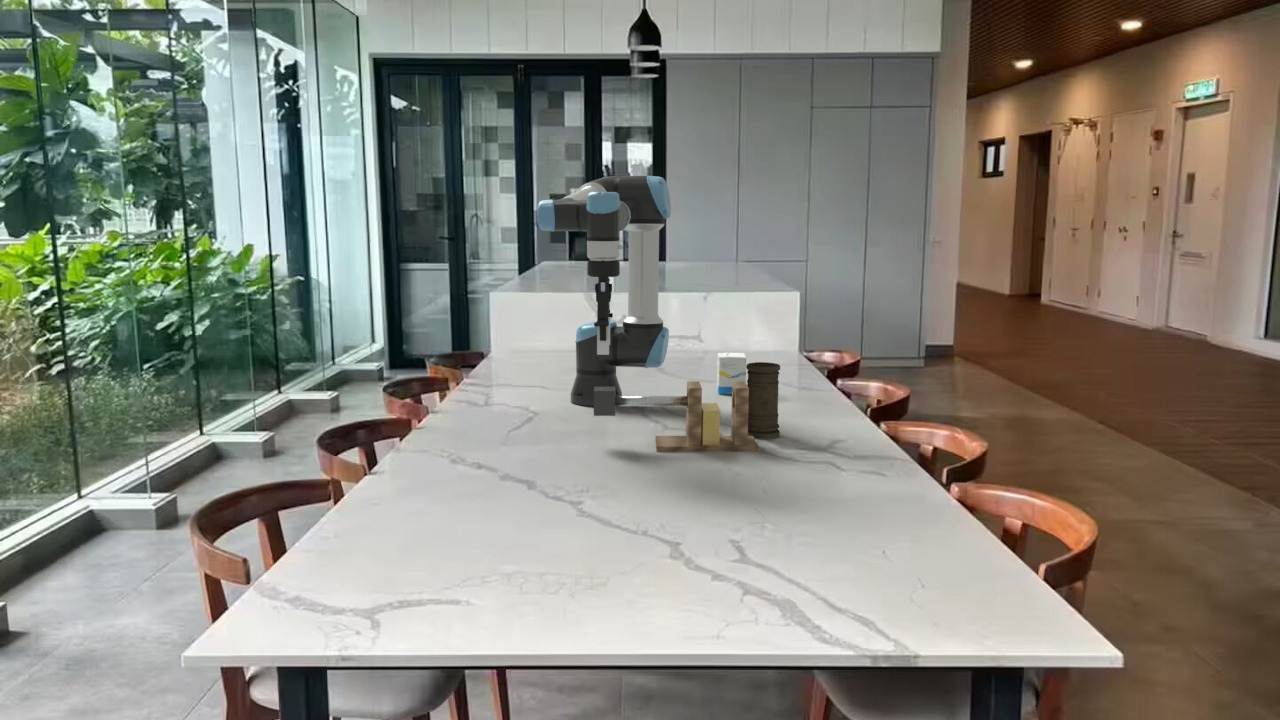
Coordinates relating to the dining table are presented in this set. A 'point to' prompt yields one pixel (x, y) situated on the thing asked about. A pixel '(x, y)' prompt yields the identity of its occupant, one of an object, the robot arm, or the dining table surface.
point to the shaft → (630, 401)
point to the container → (763, 400)
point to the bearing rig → (693, 424)
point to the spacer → (710, 424)
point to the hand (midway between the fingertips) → (603, 349)
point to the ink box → (730, 371)
